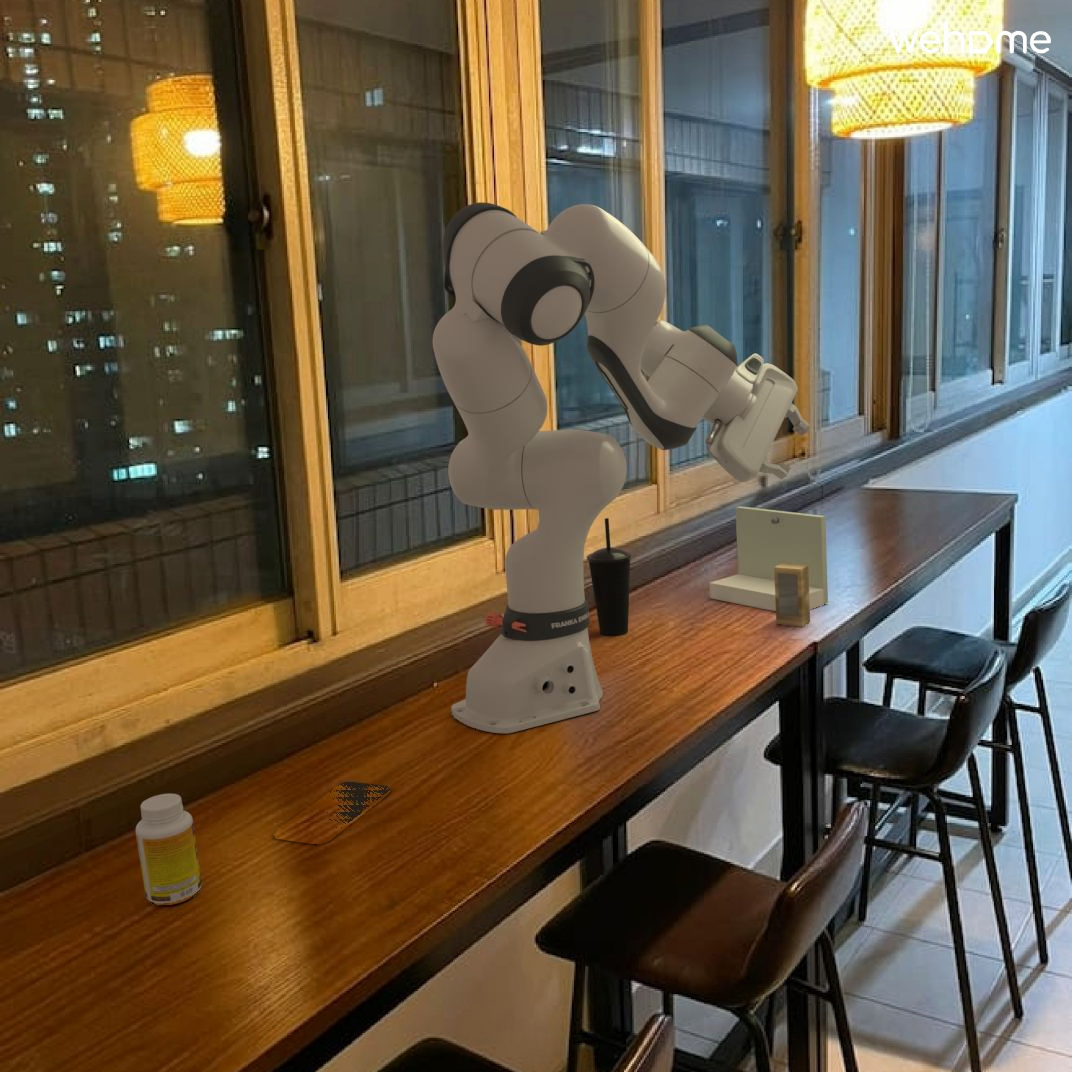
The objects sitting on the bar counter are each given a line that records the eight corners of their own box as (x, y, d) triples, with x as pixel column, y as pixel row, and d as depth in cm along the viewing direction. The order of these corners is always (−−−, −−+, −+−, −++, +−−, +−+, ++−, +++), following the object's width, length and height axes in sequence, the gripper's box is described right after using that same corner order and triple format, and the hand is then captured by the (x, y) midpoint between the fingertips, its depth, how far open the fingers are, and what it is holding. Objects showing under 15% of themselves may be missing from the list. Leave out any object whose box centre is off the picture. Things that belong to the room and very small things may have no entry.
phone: (268, 835, 128) (342, 780, 141) (269, 842, 128) (343, 786, 141) (323, 843, 125) (394, 786, 138) (324, 850, 125) (395, 792, 138)
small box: (802, 627, 191) (800, 569, 189) (776, 624, 194) (773, 567, 192) (810, 622, 194) (808, 565, 192) (783, 619, 196) (781, 563, 195)
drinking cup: (633, 638, 193) (626, 522, 189) (589, 638, 194) (580, 523, 190) (638, 625, 200) (631, 513, 196) (595, 626, 202) (587, 515, 198)
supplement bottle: (212, 892, 116) (199, 799, 114) (161, 914, 113) (146, 818, 111) (187, 875, 121) (174, 785, 119) (137, 896, 117) (122, 803, 115)
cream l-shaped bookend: (794, 615, 199) (791, 525, 195) (710, 598, 214) (705, 514, 211) (828, 603, 204) (825, 516, 201) (743, 587, 220) (739, 506, 217)
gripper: (712, 439, 167) (785, 494, 169) (760, 345, 177) (829, 398, 179) (690, 456, 172) (761, 509, 174) (738, 364, 182) (805, 415, 184)
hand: (796, 452), depth 177 cm, fingers open, 8 cm apart
